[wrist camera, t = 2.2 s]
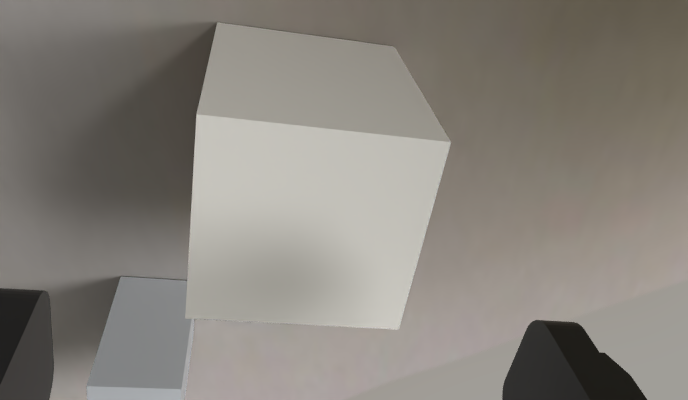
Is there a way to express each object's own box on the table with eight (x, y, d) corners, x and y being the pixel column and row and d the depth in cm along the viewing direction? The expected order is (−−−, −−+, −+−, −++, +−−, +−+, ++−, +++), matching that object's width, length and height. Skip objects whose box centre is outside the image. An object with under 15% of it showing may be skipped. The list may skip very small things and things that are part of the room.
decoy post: (197, 281, 22) (181, 389, 18) (193, 335, 24) (178, 448, 19) (120, 276, 22) (86, 386, 18) (121, 332, 23) (89, 447, 19)
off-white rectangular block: (394, 46, 19) (451, 142, 13) (362, 195, 21) (398, 329, 16) (217, 22, 18) (196, 114, 12) (206, 181, 20) (185, 318, 15)
